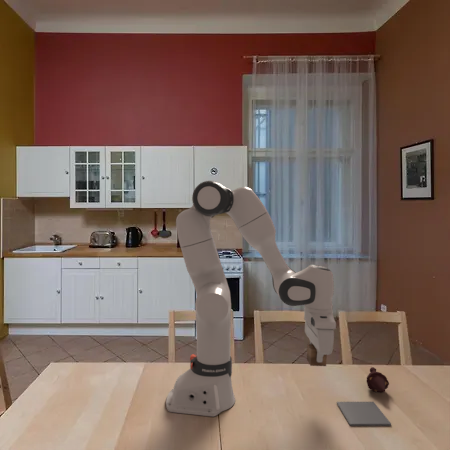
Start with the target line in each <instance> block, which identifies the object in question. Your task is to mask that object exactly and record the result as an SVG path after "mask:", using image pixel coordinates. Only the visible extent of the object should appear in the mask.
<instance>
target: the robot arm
mask: <svg viewBox="0 0 450 450" xmlns="http://www.w3.org/2000/svg"><path fill="white" fill-rule="evenodd" d="M191 196H192V197H191V198H192V199H191V201H192V206H191V207H190V208H186V209H184V210H182V211H181V212H179V214H178V215H177V216H176V220H175V226H176V233H177V238H178V239H177V240H178V242H179V246H180V249H181V253H182V257H183V260H184V263H185V267H186V270H187V273H188V275H189V277H190V279H191V281H192V284H193V287H194V290H195V293H196V298H195V303H194V305H195V307H194V309H195V329H196V354H194V353H193V354H191V355H190V358H189V361H190V364H189V365H190V368H189V369H188V370H186V371H184V372H182V374H180V375H179V376H178V377H177V379H176V380H175V383H174V384H173V385H174V386H173V388H172V389H170V391H169V392H168V394H167V396H166V399H165V407H166V408H165V409H166V410H167V411H168V412H170V413H178V414H184V415H185V414H186V415H195V416H204V417H217V416H218V415H219V414H220V413H221V412H222V413H223V412H224V411H227V410H228V409H230V408H232V407H233V405H235V403H236V397H235V394H234V389H233V383H232V382H233V381H232V374H233V361H232V360H233V359H232V356H231V338H232V337H231V336H232V335H231V331H232V330H231V327H232V299H231V298H232V297H231V290H230V287H229V284H228V280H227V278H226V274H225V272H224V271H225V270H224V268H223V266H222V263H221V259H220V256H219V252H218V248H217V246H216V245H217V244H216V242H215V239H214V236H213V232H212V228H211V220H212V218H214V217H215V216H218V215H221V214H227V216H229V217H230V219H232V222H233V223H234V224H235V227H236V228H237V230H238V232H239V233H240V234H241V236H242V238H243V239H244V240H245V241H246V242H247V244H248V245H249V246H250V247H251V248H253V249H254V250H256V251H257V253H259V255H260V256H261V258H262V259H263V262H264V264H265V265H266V267H267V268H268V270H269V272H270V274H271V280H272V281H271V282H272V288H273V290H274V292H275V293H276V294H277V295H278V297H279V298H280V300H281V302H282V303H284V304H285V305H287V306H291V307H299V306H304V311H303V312H304V313H303V314H304V316H303V319H304V321H305V323H304V334H305V335H306V337H307V338H308V339H309V344H311V345H314V346H315V348H316V349H317V355H316V361H317V362H322V361H323V355H327V356H330V355H331V354H332V353H333V349H334V341H335V340H334V339H335V332H334V331H335V330H336V329H337V323H336V321H335V320H336V319H335V318H334V311H333V309H334V305H333V297H334V294H335V293H334V292H335V291H334V290H335V288H334V287H335V285H334V274H333V272H332V270H330V269H329V268H328V267H326V266H323V265H318V264H309V265H308V266H307V267H306V268H303V269H301V270H300V271H297V272H296V271H295V270H294V269H292V268H290V267H289V266H288V264H287V262H286V261H285V258H284V256H283V255H282V253H281V251H280V250H279V248H278V246H277V242H276V241H277V240H276V232H277V230H276V227H275V224H274V222H273V219H272V216H271V215H270V213H269V211H268V210H267V207H266V206H265V205H264V204H263V202H262V200H260V198H259V196H258V195H257V194H256V193H255V192H254V190H253V189H252V188H250V187H249V186H248V187H247V186H242V187H238V188H235V189H233V190H231V189H230V188H228V187H226V186H224V185H223V184H222V183H220V182H217V181H214V180H205V181H202V182H200V183H199V184H198V185H197V186H195V188H194V190H193V192H192V195H191Z"/></svg>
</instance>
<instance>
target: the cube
mask: <svg viewBox="0 0 450 450" xmlns="http://www.w3.org/2000/svg"><path fill="white" fill-rule="evenodd" d="M316 355H317V349H316V348H315V346H314V345H311V344H310V343H309V344H307V346H306V361H307V362H308V364H309V365H310V367H327V357H328V355H323V361H322V362H317V361H316Z"/></svg>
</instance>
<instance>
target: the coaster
mask: <svg viewBox="0 0 450 450" xmlns="http://www.w3.org/2000/svg"><path fill="white" fill-rule="evenodd" d="M336 405H337V407H338V408H339V410H340V411H341V413H342V415H343V416H344V418H345V420H346V422H347V423H348V425H349V427H356V426H357V427H365V426H366V427H367V426H368V427H376V426H377V427H378V426H379V427H380V426H386V427H391V426H392V423H391V421H389V419H388V418H387V417H386V415H385V414H384V413H383V411H382V410H381V409H380V407H379V406H378V405H377V403H376V402H374V401H336Z"/></svg>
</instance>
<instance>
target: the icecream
mask: <svg viewBox="0 0 450 450" xmlns="http://www.w3.org/2000/svg"><path fill="white" fill-rule="evenodd" d="M366 384H367V388H368V389H369V390H370V391H372V392H374V393H380V394H381V393H385V392H386V390H387V389H388V388H389V385H390V383H389V380H388V378H387V376H386V375H384V374H382V372H379V371H377V368H375V367H373V366H371V367H370V368H369V373H368V375H367V377H366Z"/></svg>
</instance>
